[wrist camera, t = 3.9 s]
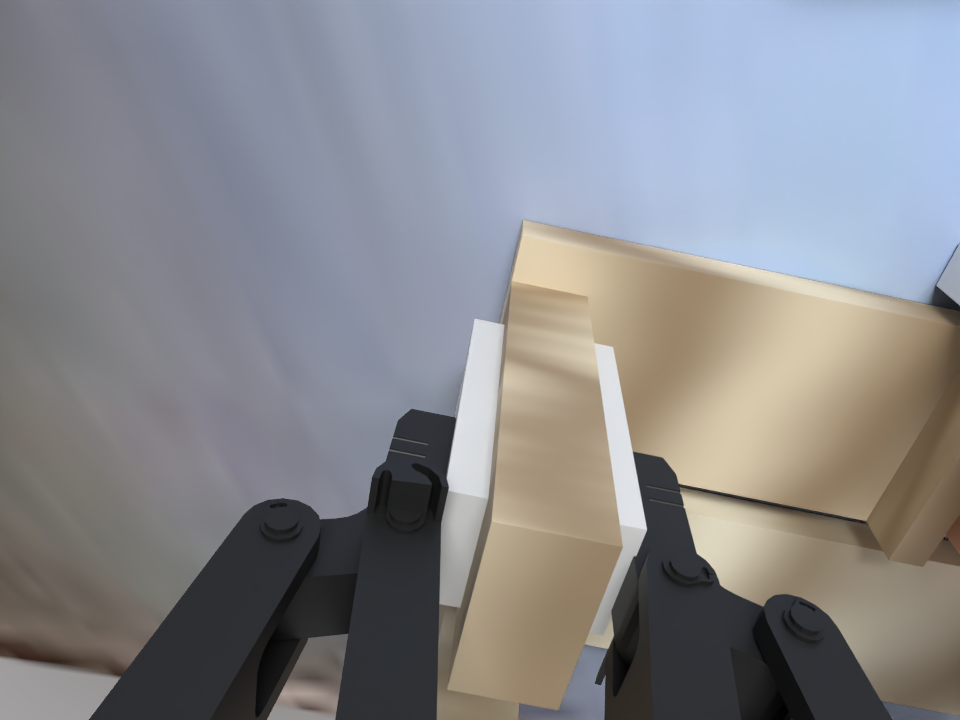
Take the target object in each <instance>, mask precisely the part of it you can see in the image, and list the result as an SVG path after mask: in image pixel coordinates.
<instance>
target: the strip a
mask: <svg viewBox="0 0 960 720" xmlns="http://www.w3.org/2000/svg"><path fill="white" fill-rule="evenodd" d="M499 324H503V325H504V335H503V346H502V357H501V367H500V378H499V389H498V400H497V410H496V421H495V432H494V443H493V454H492V464H491V475H490V486H489V497H488V502H487V506H486V510H485V514H484V517H483V521H482V525H481V529H480V533H479V537H478V541H477V545H476V549H475V552H474V556H473V560H472V564H471V568H470V572H469V576H468V580H467V584H466V587H465V591H464V595H463V599H462V603H461V607H460V608H458V607H457V613H456V621H455V629H454V637H453V645H452V653H451V661H450V669H449V677H448V685H447V690H452V691H457V692H463V693H468V694H473V695H479V696H484V697H489V698H495V699H500V700H505V701H511V702H516V703H521V704H527V705H532V706H537V707H543V708H548V709H553V710H559V707H560V705H561V702H562V700H563V697H564V694H565V692H566V689H567V687H568V684H569V682H570V679H571V677H572V674H573V672H574V669H575V667H576V664H577V662H578V659H579V657H580V654H581V652H582V649H583V647H584V644H585V642H586V639H587V637H588V634H589V631H590V629H591V626H592V624H593V621H594V619H595V616H596V614H597V611H598V609H599V606H600V604H601V601H602V599H603V596H604V594H605V591H606V589H607V586H608V584H609V581H610V579H611V576H612V574H613V571H614V569H615V566H616V563H617V561H618V558H619V556H620V553H621V551H622V548H623V544H622V537H621V530H620V522H619V515H618V508H617V501H616V494H615V487H614V480H613V473H612V466H611V458H610V451H609V444H608V437H607V430H606V423H605V416H604V409H603V402H602V394H601V387H600V380H599V373H598V366H597V359H596V352H595V345H594V343H596V344H601V345H606V346H611V347H613V349H614V354H615V360H616V365H617V370H618V376H619V381H620V387H621V392H622V397H623V403H624V408H625V413H626V419H627V424H628V430H629V435H630V440H631V446H632V451H633V452H638V453H643V454H648V455H653V456H658V457H663V458H664V459H665V461H666V462H667V463H668V465H669V466H670V467H671V468H672V470H673V471H674V472H675V473H676V476H677V480H678V483H679V484H683V485H688V486H693V487H698V488H703V489H708V490H713V491H718V492H723V493H728V494H733V495H738V496H743V497H748V498H753V499H758V500H763V501H768V502H773V503H778V504H783V505H788V506H793V507H798V508H803V509H808V510H813V511H818V512H823V513H829V514H834V515H839V516H844V517H849V518H854V519H859V520H864V521H866V522H867V524H868V525H869V527H870V529H871V531H872V532H873V534H874V536H875V538H876V539H877V541H878V543H879V544H880V546H881V548H882V550H883V551H884V553H885V555H886V557H887V558H888V560H890V561H895V562H900V563H905V564H910V565H915V566H920V567H923V566H924V565H925V564H926V562H927V561H928V559H929V558H930V556H931V555H932V554H933V552H934V551H935V549H936V548H937V546H938V545H939V543H940V542H941V541H942V539H943V538H944V537H947V536H946V533H947V532H948V531H949V529H950V528H951V526H952V525H953V523H954V522H955V520H956V519H957V518H958V516H959V515H960V311H957V310H952V309H947V308H942V307H938V306H933V305H928V304H923V303H919V302H914V301H909V300H904V299H899V298H895V297H890V296H885V295H880V294H876V293H871V292H866V291H861V290H856V289H852V288H847V287H842V286H837V285H833V284H828V283H823V282H818V281H813V280H809V279H804V278H799V277H794V276H790V275H785V274H780V273H775V272H770V271H766V270H761V269H756V268H751V267H747V266H742V265H737V264H732V263H727V262H723V261H718V260H713V259H708V258H703V257H699V256H694V255H689V254H684V253H680V252H675V251H670V250H665V249H660V248H656V247H651V246H646V245H641V244H637V243H632V242H627V241H622V240H617V239H613V238H608V237H603V236H598V235H594V234H589V233H584V232H579V231H574V230H570V229H565V228H560V227H555V226H551V225H546V224H541V223H536V222H531V221H527V220H523V223H522V227H521V231H520V236H519V240H518V244H517V249H516V253H515V257H514V262H513V266H512V271H511V275H510V279H509V284H508V288H507V292H506V297H505V301H504V305H503V310H502V314H501V318H500V323H499Z"/></svg>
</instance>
